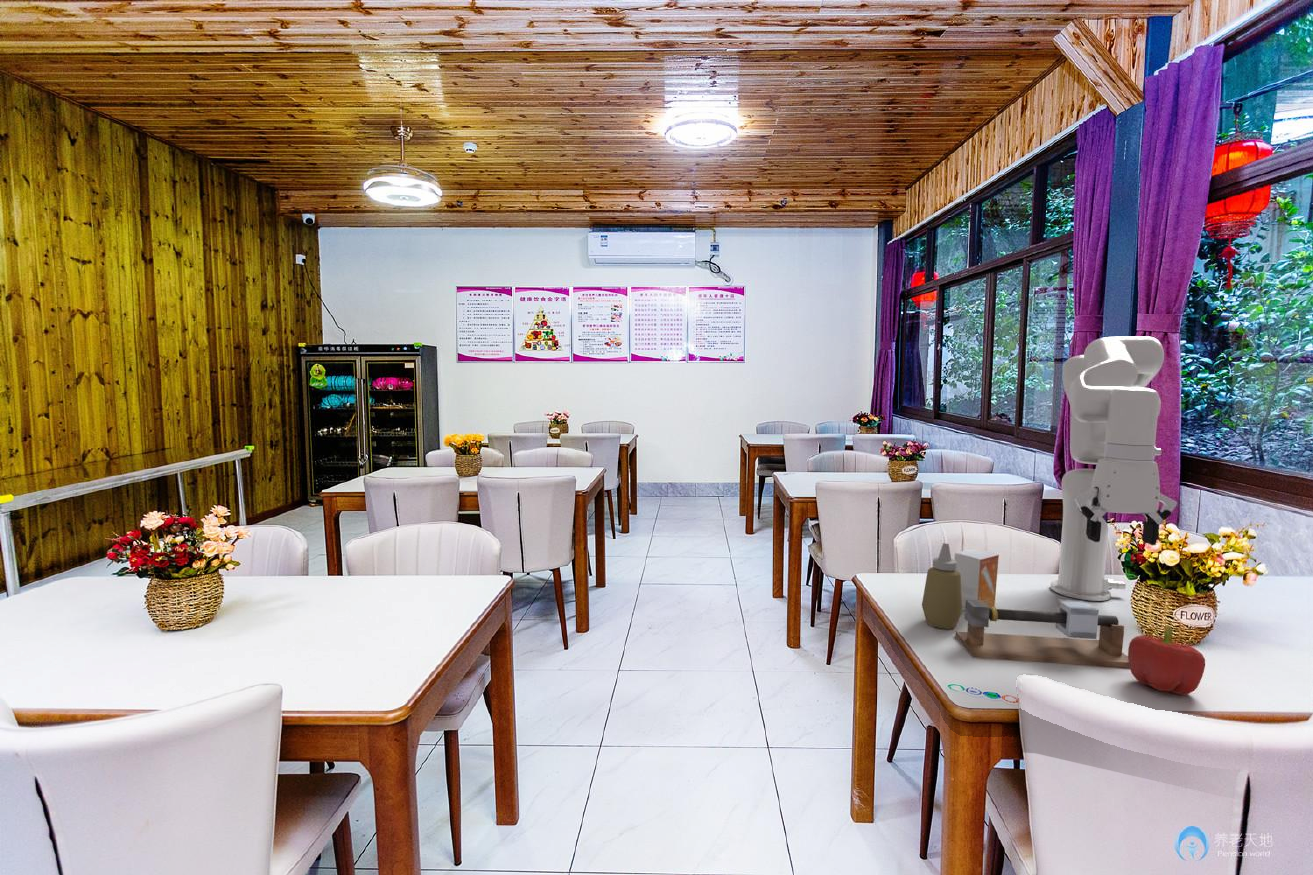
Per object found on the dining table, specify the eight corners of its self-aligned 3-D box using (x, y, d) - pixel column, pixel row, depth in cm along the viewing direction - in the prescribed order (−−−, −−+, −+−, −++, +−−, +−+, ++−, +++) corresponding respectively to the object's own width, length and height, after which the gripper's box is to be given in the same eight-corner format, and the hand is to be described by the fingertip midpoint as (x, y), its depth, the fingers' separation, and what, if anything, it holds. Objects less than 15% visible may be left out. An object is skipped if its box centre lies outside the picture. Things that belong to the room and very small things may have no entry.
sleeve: (1082, 629, 123) (1084, 600, 123) (1096, 639, 119) (1098, 609, 118) (1055, 627, 124) (1057, 599, 123) (1068, 637, 119) (1070, 608, 119)
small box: (976, 615, 141) (980, 559, 140) (950, 606, 146) (953, 552, 145) (995, 608, 145) (999, 554, 144) (969, 599, 151) (972, 547, 149)
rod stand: (1105, 645, 125) (1109, 602, 125) (1137, 668, 116) (1141, 621, 115) (955, 635, 129) (957, 594, 128) (973, 657, 119) (976, 612, 118)
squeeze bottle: (960, 621, 137) (966, 541, 135) (961, 634, 130) (967, 551, 128) (921, 614, 140) (925, 537, 139) (920, 627, 133) (924, 546, 131)
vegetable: (1127, 666, 116) (1131, 615, 115) (1200, 684, 110) (1205, 630, 109) (1124, 688, 108) (1129, 633, 107) (1203, 709, 101) (1209, 651, 100)
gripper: (1166, 452, 120) (1158, 539, 121) (1069, 449, 122) (1062, 534, 124) (1193, 457, 112) (1184, 549, 114) (1089, 454, 115) (1081, 544, 116)
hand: (1121, 541), depth 119 cm, fingers open, 9 cm apart
